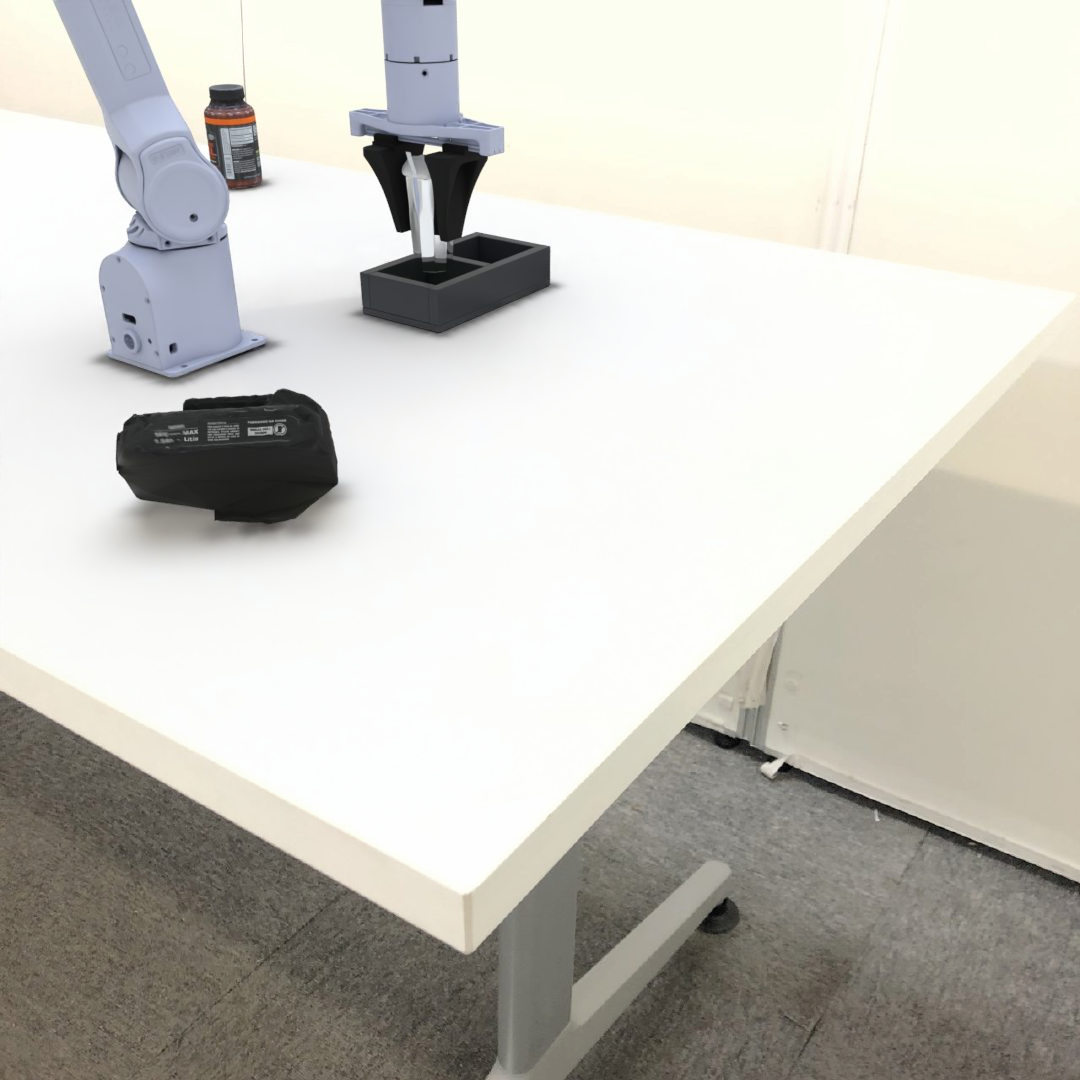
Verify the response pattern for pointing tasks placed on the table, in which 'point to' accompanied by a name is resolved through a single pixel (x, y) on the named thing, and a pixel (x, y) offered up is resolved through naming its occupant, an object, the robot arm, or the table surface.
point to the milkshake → (424, 218)
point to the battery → (232, 456)
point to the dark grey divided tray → (456, 282)
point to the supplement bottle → (233, 136)
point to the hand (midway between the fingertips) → (429, 234)
